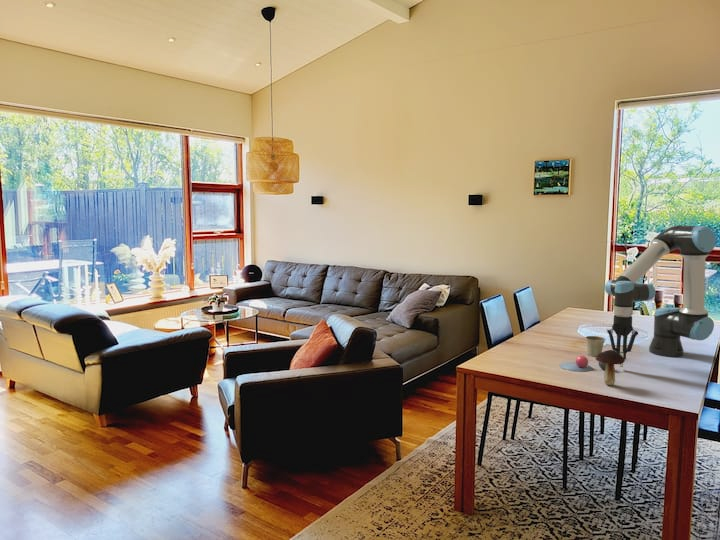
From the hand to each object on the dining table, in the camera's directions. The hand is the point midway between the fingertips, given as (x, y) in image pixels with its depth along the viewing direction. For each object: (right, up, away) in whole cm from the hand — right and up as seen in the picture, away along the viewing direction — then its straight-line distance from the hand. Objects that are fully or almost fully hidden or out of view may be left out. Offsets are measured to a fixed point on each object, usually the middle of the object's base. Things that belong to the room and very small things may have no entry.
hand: (620, 366), depth 240 cm
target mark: (-18, -1, +6) cm, 19 cm away
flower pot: (-1, +1, +25) cm, 25 cm away
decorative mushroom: (-14, -5, -19) cm, 24 cm away
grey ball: (-6, +1, +1) cm, 7 cm away
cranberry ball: (-16, +1, +5) cm, 16 cm away
